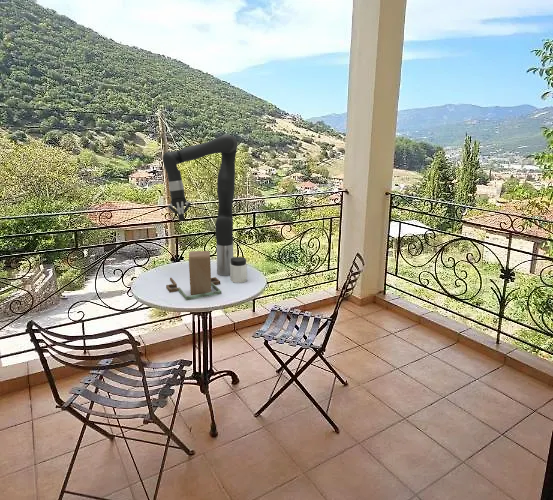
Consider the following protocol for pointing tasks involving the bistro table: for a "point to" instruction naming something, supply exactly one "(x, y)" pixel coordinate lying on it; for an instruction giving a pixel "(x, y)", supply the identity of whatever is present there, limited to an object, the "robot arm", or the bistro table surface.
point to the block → (199, 272)
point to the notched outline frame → (214, 282)
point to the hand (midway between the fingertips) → (181, 220)
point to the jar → (238, 270)
